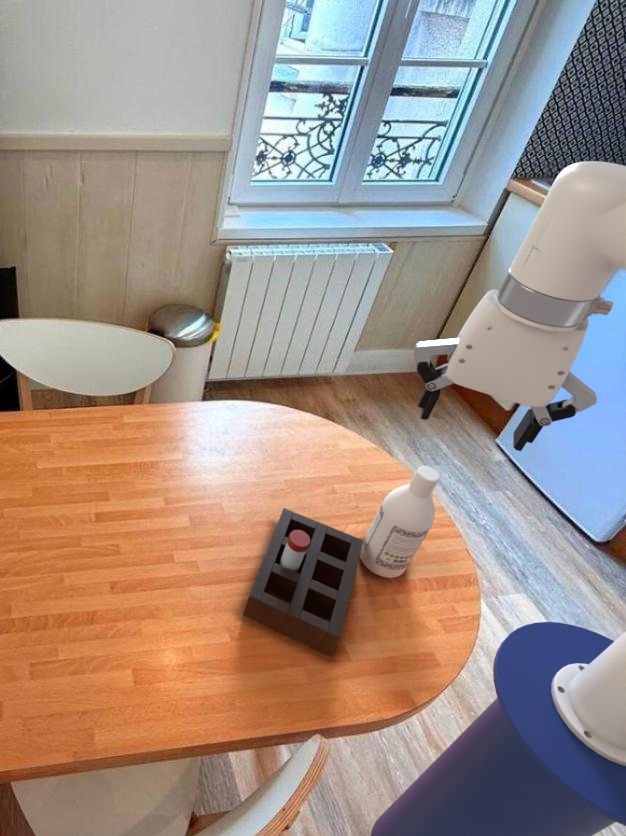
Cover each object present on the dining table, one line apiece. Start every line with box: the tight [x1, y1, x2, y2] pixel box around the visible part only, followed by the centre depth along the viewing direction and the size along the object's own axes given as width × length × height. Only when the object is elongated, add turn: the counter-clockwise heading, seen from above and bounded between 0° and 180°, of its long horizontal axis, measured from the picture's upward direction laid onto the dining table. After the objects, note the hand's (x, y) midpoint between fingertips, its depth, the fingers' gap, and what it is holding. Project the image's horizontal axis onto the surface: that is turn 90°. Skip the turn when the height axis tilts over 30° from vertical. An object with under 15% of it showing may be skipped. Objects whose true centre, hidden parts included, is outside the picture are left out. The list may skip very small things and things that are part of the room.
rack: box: [242, 507, 364, 657], centre depth 90 cm, size 12×18×5 cm
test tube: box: [279, 530, 310, 573], centre depth 89 cm, size 3×3×10 cm
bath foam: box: [359, 465, 441, 579], centre depth 89 cm, size 7×7×20 cm
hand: (469, 427), depth 69 cm, fingers open, 9 cm apart
